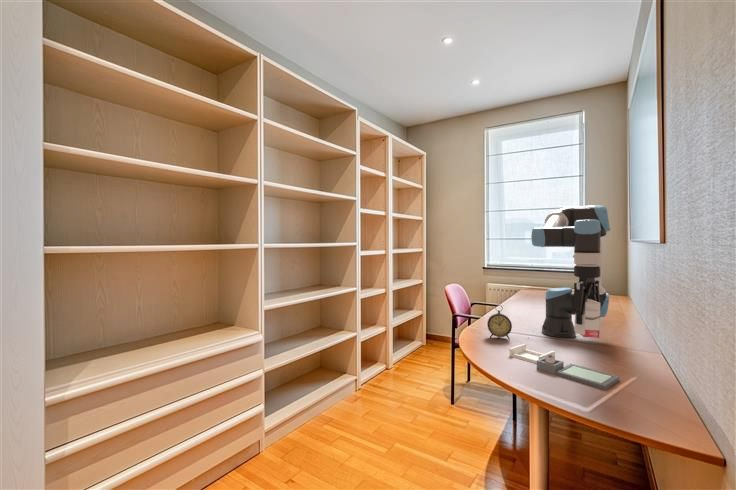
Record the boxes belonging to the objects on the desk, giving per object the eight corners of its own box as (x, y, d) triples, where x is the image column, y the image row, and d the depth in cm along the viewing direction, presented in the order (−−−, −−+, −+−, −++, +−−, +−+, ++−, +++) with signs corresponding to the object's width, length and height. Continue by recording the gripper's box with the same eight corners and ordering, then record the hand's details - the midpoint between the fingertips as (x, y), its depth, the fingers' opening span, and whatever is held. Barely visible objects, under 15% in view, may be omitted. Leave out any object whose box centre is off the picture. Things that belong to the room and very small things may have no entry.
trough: (524, 352, 145) (524, 343, 145) (554, 361, 134) (554, 351, 134) (509, 358, 138) (509, 348, 138) (540, 367, 128) (540, 357, 128)
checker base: (571, 369, 126) (571, 363, 126) (619, 383, 114) (619, 376, 114) (555, 377, 119) (555, 371, 119) (604, 392, 107) (604, 385, 107)
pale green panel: (573, 368, 124) (573, 365, 124) (612, 379, 114) (612, 376, 114) (561, 374, 118) (561, 371, 118) (601, 386, 109) (601, 383, 109)
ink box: (601, 338, 112) (601, 302, 111) (584, 337, 113) (583, 301, 112) (589, 331, 120) (589, 297, 120) (573, 330, 121) (573, 297, 121)
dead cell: (547, 367, 126) (547, 353, 126) (556, 369, 123) (556, 355, 123) (543, 369, 124) (543, 355, 124) (552, 371, 121) (552, 357, 121)
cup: (545, 367, 128) (545, 356, 128) (563, 372, 123) (563, 361, 123) (536, 371, 124) (536, 360, 124) (554, 377, 119) (554, 365, 119)
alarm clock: (487, 338, 166) (487, 305, 166) (487, 335, 171) (487, 303, 171) (511, 340, 163) (511, 306, 163) (510, 337, 168) (510, 304, 168)
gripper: (588, 263, 125) (588, 323, 126) (559, 266, 112) (559, 334, 113) (612, 264, 119) (612, 328, 120) (585, 268, 106) (584, 339, 107)
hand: (586, 331), depth 116 cm, fingers closed on ink box, 9 cm apart
